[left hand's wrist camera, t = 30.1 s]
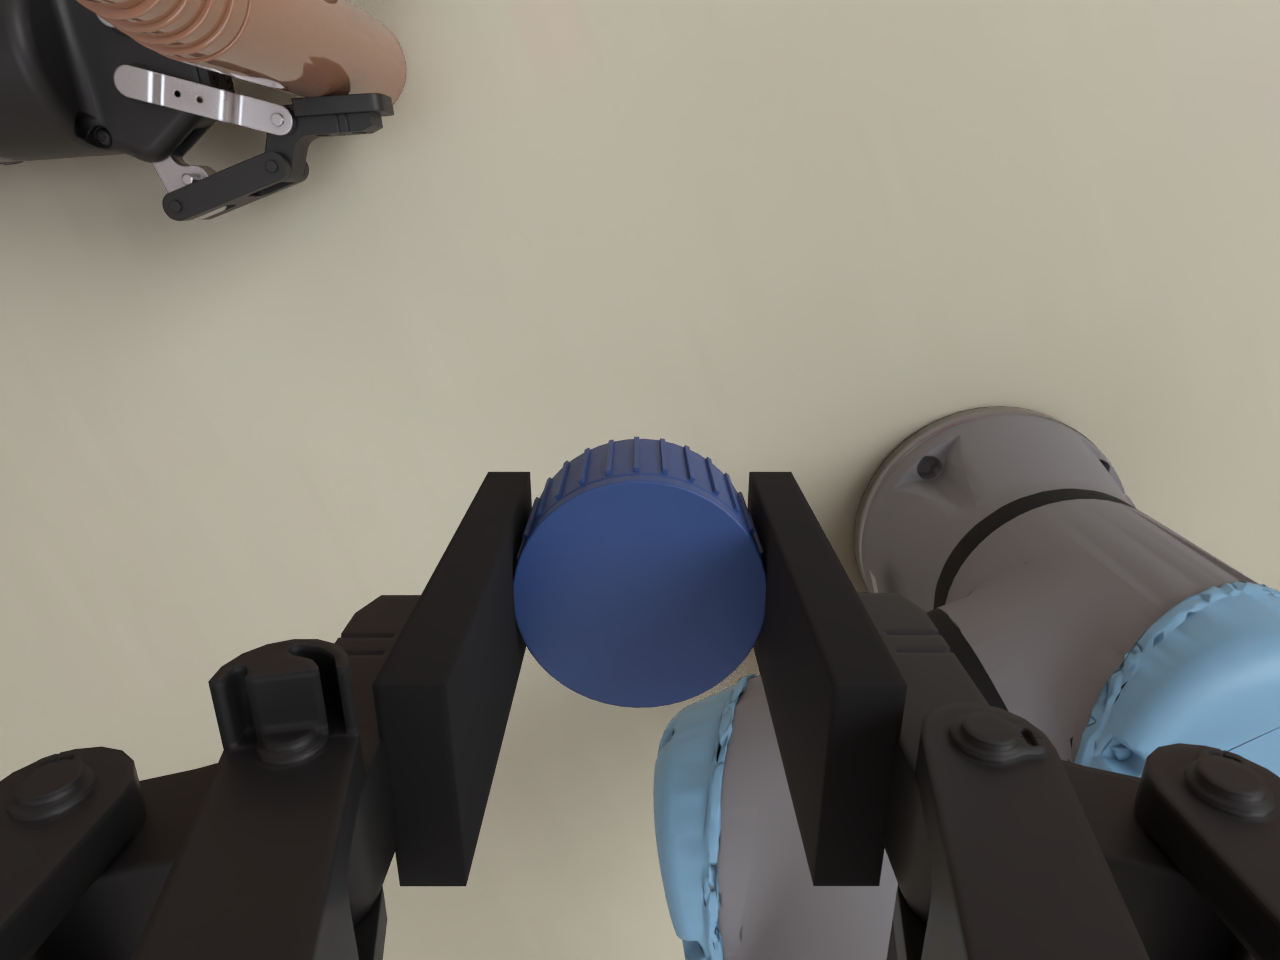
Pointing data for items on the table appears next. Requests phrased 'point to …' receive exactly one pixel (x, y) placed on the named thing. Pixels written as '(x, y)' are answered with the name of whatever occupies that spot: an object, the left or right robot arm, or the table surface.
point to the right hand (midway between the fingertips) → (375, 37)
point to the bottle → (269, 42)
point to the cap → (639, 575)
